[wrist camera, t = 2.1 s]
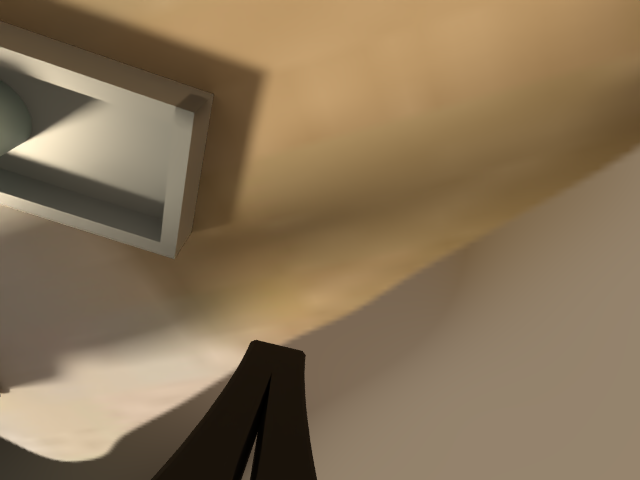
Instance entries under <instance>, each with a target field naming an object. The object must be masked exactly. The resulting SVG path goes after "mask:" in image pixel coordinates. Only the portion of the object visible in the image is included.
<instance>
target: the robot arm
mask: <svg viewBox="0 0 640 480" xmlns="http://www.w3.org/2000/svg"><path fill="white" fill-rule="evenodd" d="M305 356H306V355H305V354H304V353H303V351H300V350H296V349H292V348H288V347H283V346H279V345H275V344H271V343H267V342H262V341H258V340H254V341H252V342H251V343H250V345H249V347H248V349H247V351H246V353H245V355H244V357H243V359H242V361H241V363H240V364H239V366H238V368H237V369H236V371H235V373H234V374H233V376H232V377H231V379H230V380H229V382H228V384H227V385H226V387H225V388H224V389H223V391H222V392H221V394H220V395H219V397H218V398H217V399H216V401H215V402H214V404H213V405H212V406H211V408H210V409H209V411H208V412H207V413H206V415H205V416H204V417H203V419H202V420H201V421H200V422H199V424H198V425H197V426H196V427H195V429H194V430H193V431H192V432H191V434H190V435H189V436H188V438H187V439H186V440H185V442H183V444H182V445H181V446H180V447H179V449H178V450H177V451H176V452H175V453H174V454H173V456H172V457H171V458H170V459H169V460H168V461H167V462H166V464H165V465H164V466H163V467H162V468H161V469H160V470H159V471H158V472H157V474H156V475H155V476H154V477H153V478H152V479H151V480H241V479H242V476H243V473H244V470H245V467H246V464H247V462H248V458H249V456H250V453H251V450H252V447H253V444H254V442H255V439H256V436H257V440H256V446H255V452H254V459H253V464H252V471H251V477H250V480H317V477H316V472H315V467H314V461H313V456H312V450H311V443H310V436H309V428H308V420H307V411H306V399H305V381H304V370H305ZM0 397H1V394H0ZM257 433H258V434H257Z"/></svg>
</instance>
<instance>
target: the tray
mask: <svg viewBox="0 0 640 480" xmlns="http://www.w3.org/2000/svg"><path fill="white" fill-rule="evenodd" d="M213 96H214V94H211V93H209V92H206V91H203V90H200V89H197V88H194V87H191V86H188V85H185V84H182V83H179V82H177V81H174V80H171V79H168V78H165V77H162V76H159V75H156V74H153V73H150V72H148V71H145V70H142V69H139V68H136V67H133V66H130V65H127V64H124V63H121V62H118V61H116V60H113V59H110V58H107V57H104V56H101V55H98V54H95V53H92V52H89V51H87V50H84V49H81V48H78V47H75V46H72V45H69V44H66V43H63V42H60V41H57V40H55V39H52V38H49V37H46V36H43V35H40V34H37V33H34V32H31V31H28V30H25V29H23V28H20V27H17V26H14V25H11V24H8V23H5V22H2V21H0V205H3V206H6V207H9V208H12V209H16V210H19V211H22V212H25V213H28V214H32V215H35V216H38V217H41V218H44V219H48V220H51V221H54V222H57V223H60V224H64V225H67V226H70V227H73V228H76V229H79V230H83V231H86V232H89V233H92V234H95V235H99V236H102V237H105V238H108V239H111V240H115V241H118V242H121V243H124V244H127V245H131V246H134V247H137V248H140V249H143V250H146V251H150V252H153V253H156V254H159V255H162V256H166V257H169V258H172V259H175V258H176V256H177V255H178V253H179V251H180V250H181V248H182V247H183V245H184V244H185V242H186V240H187V239H188V237H189V236H190V234H191V233H192V226H193V220H194V214H195V208H196V202H197V195H198V189H199V183H200V177H201V171H202V164H203V158H204V152H205V146H206V140H207V133H208V127H209V121H210V115H211V109H212V102H213Z"/></svg>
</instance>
